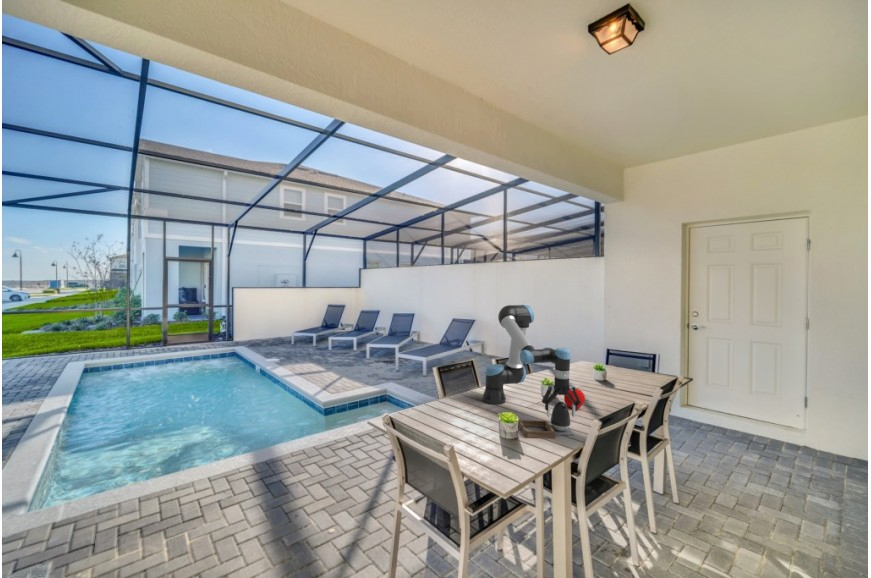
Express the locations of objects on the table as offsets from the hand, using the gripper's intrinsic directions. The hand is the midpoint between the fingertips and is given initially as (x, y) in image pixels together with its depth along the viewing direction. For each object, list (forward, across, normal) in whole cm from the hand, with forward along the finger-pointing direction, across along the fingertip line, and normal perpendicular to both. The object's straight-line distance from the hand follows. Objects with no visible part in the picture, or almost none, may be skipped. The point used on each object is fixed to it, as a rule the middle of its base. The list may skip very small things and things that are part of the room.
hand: (560, 416), depth 203 cm
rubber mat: (+8, 0, 0) cm, 8 cm away
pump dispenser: (+7, 0, 0) cm, 7 cm away
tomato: (+8, +20, +35) cm, 41 cm away
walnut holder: (+8, -14, -2) cm, 16 cm away
